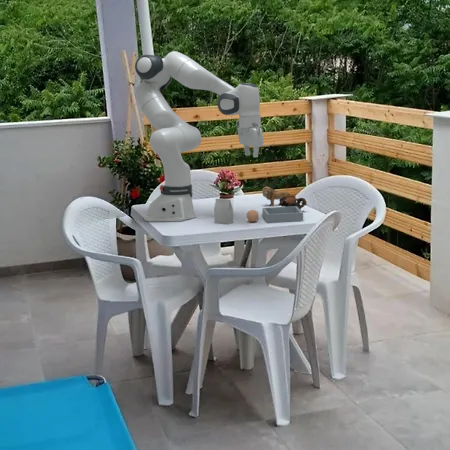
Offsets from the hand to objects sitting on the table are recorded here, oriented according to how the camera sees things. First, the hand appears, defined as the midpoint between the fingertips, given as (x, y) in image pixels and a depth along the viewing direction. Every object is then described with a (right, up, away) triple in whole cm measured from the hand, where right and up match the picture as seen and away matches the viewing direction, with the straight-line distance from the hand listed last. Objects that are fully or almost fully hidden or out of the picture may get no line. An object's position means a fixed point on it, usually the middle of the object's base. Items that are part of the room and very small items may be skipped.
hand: (251, 156), depth 324 cm
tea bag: (-12, -28, 0) cm, 30 cm away
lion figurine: (+13, -20, +34) cm, 41 cm away
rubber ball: (0, -27, 0) cm, 27 cm away
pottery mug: (+19, -23, +19) cm, 35 cm away
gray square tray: (+13, -26, +5) cm, 29 cm away
